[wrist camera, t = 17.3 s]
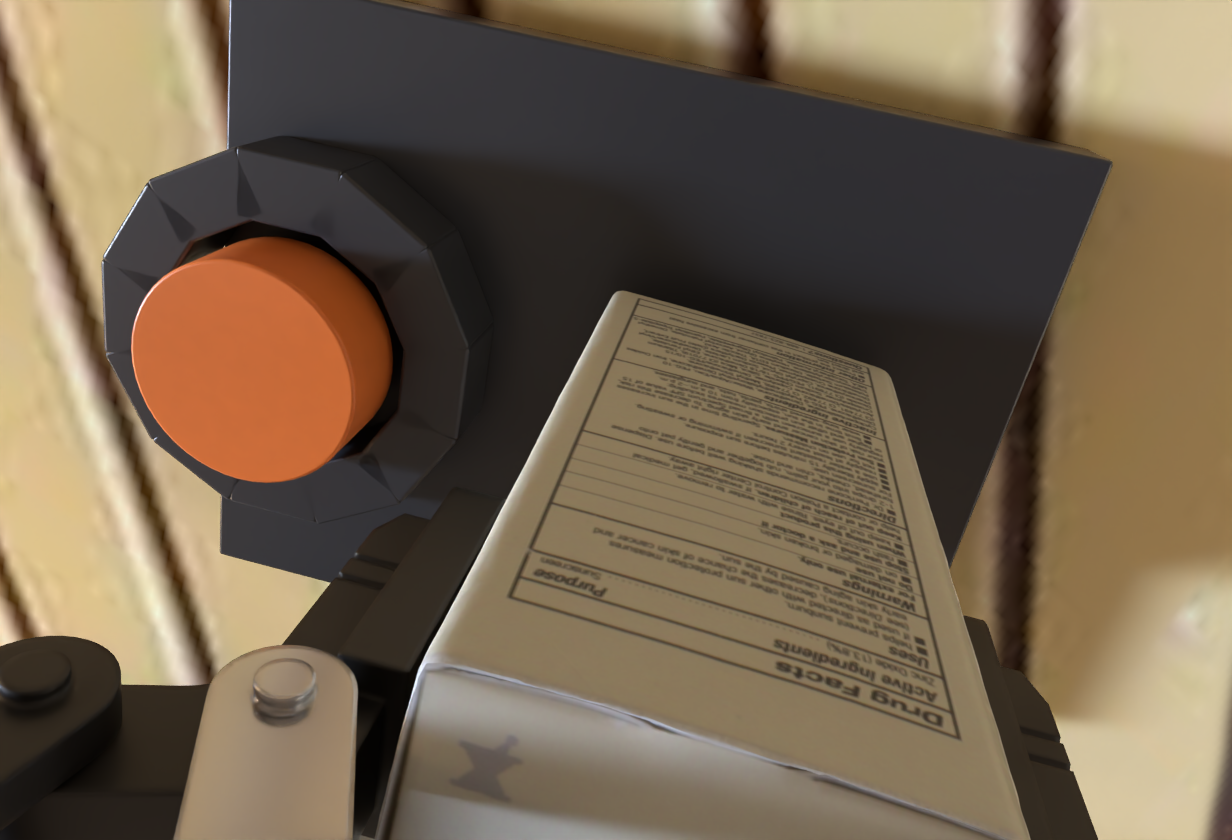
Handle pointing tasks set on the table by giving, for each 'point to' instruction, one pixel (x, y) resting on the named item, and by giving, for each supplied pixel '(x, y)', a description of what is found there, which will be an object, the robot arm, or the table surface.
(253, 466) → the button
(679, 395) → the white medicine box
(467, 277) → the black button panel
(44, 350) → the table surface
